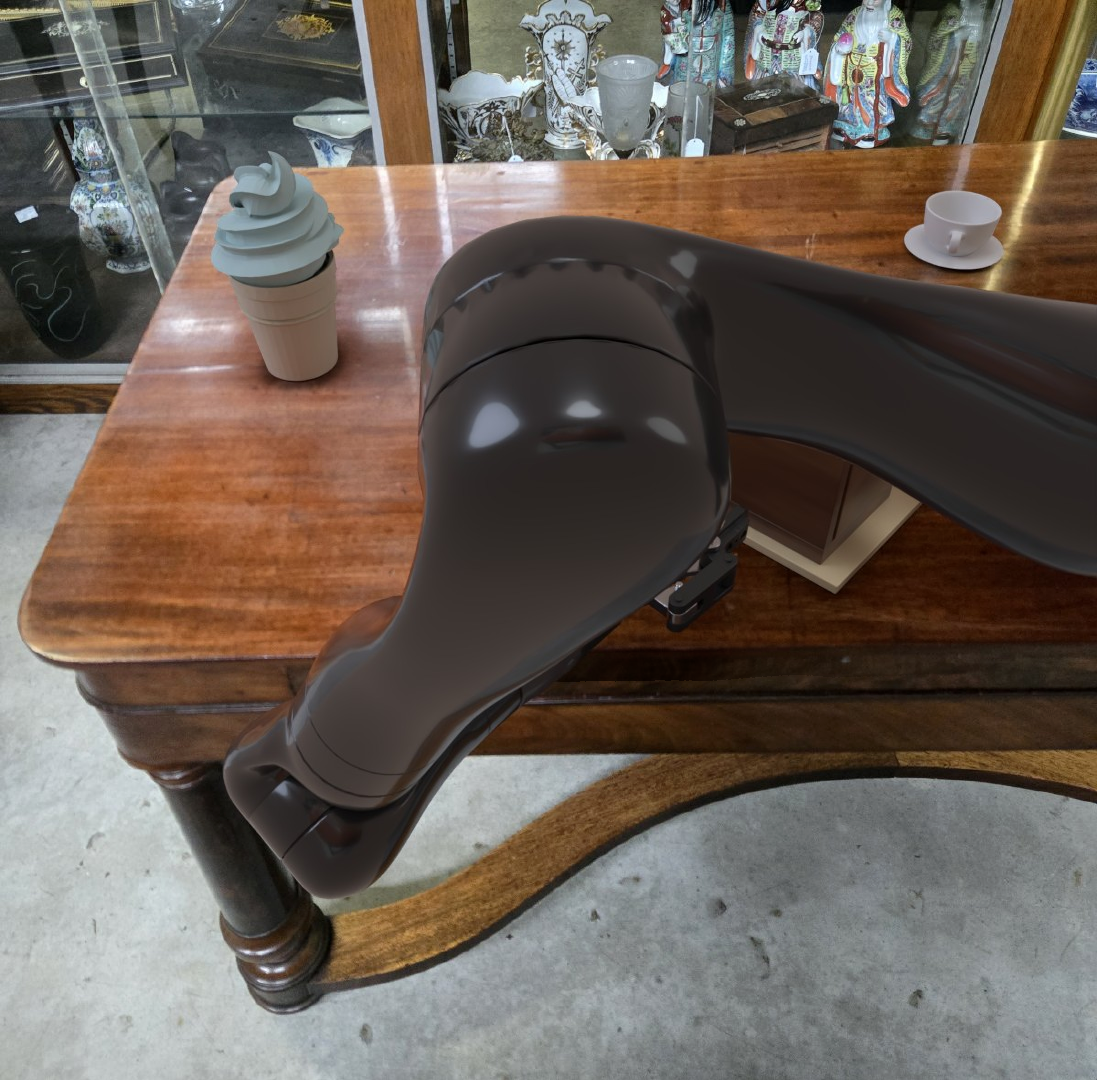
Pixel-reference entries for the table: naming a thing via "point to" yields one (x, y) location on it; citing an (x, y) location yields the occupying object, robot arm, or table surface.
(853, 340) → the robot arm
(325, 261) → the ice cream cone
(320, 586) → the table surface
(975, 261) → the teacup
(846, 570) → the board
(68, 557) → the table surface
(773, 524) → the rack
